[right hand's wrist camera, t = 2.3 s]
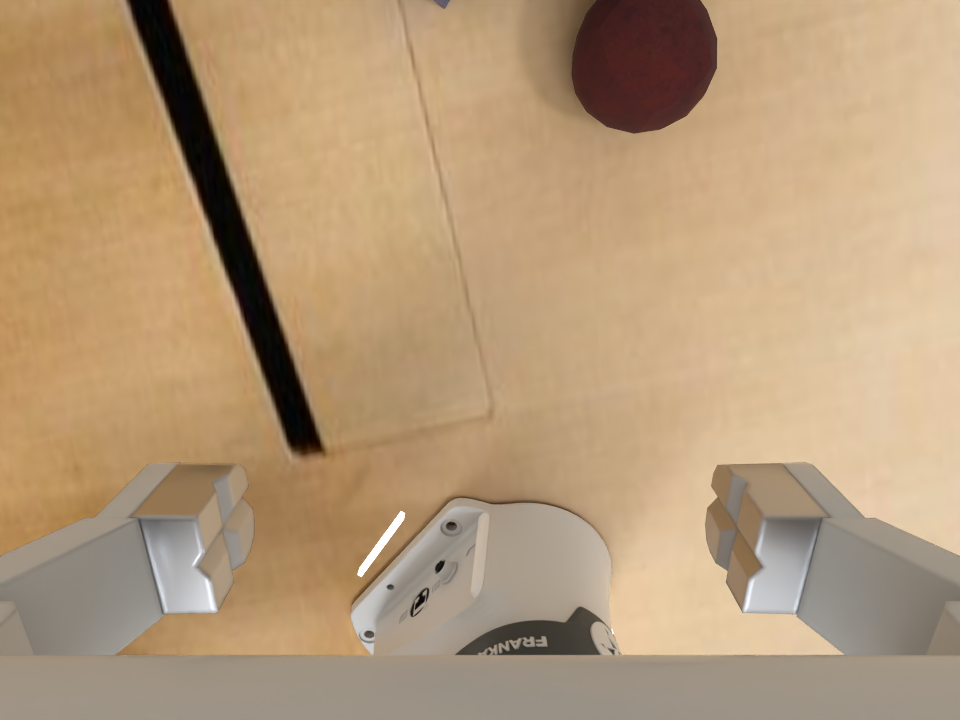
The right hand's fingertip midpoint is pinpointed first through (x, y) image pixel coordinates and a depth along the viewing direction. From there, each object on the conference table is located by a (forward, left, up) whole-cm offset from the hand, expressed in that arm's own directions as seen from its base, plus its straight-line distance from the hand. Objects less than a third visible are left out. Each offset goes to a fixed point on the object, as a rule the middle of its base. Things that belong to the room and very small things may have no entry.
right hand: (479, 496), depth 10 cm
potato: (+13, +2, -30) cm, 33 cm away
